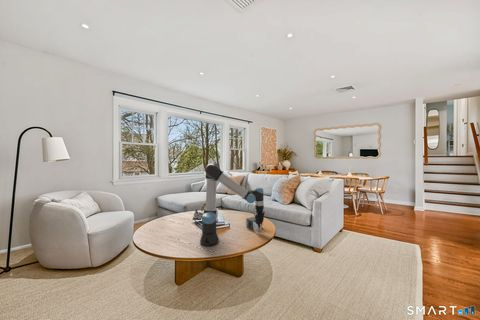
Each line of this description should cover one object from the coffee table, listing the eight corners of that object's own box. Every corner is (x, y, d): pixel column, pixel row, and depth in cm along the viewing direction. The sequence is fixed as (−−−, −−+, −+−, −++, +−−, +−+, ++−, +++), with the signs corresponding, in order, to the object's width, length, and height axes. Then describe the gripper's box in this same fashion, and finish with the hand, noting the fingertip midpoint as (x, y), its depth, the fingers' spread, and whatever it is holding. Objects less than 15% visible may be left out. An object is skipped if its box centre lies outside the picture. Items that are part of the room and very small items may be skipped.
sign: (212, 224, 227) (217, 206, 227) (212, 225, 224) (217, 207, 223) (192, 218, 225) (198, 201, 225) (192, 219, 222) (197, 201, 222)
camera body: (250, 230, 197) (250, 220, 197) (244, 228, 204) (244, 218, 204) (261, 227, 205) (261, 217, 205) (255, 225, 213) (255, 215, 212)
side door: (251, 230, 198) (251, 221, 198) (253, 230, 199) (253, 221, 198) (256, 235, 186) (256, 225, 186) (258, 235, 187) (258, 225, 186)
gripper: (258, 207, 182) (258, 233, 183) (267, 204, 191) (267, 229, 192) (251, 205, 187) (252, 231, 188) (260, 203, 197) (261, 227, 198)
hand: (259, 230), depth 190 cm, fingers closed
